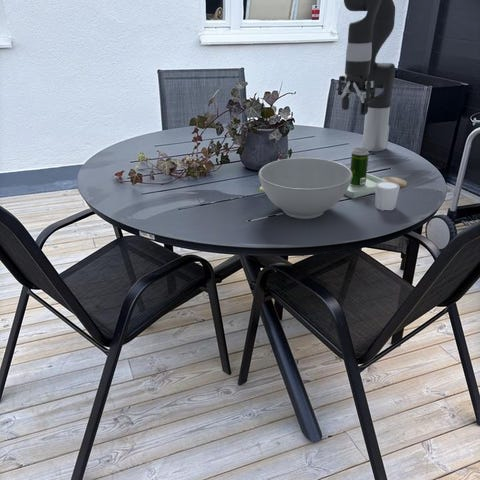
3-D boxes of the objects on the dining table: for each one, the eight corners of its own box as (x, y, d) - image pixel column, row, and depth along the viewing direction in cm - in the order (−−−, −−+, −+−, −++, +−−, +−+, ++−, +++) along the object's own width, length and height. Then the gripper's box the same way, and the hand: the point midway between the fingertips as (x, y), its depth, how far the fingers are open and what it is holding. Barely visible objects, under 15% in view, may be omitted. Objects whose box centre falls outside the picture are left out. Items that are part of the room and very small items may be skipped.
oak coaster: (392, 176, 161) (392, 175, 160) (412, 184, 154) (412, 183, 153) (373, 181, 157) (373, 180, 157) (392, 190, 150) (392, 188, 150)
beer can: (368, 184, 153) (372, 149, 148) (358, 188, 150) (362, 153, 145) (355, 180, 157) (358, 146, 151) (345, 184, 154) (348, 149, 148)
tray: (361, 176, 162) (361, 170, 161) (390, 188, 151) (391, 182, 150) (324, 185, 156) (325, 179, 155) (352, 198, 145) (353, 192, 144)
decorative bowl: (248, 199, 147) (247, 163, 141) (325, 188, 153) (327, 153, 147) (277, 236, 124) (277, 194, 118) (366, 222, 130) (370, 181, 124)
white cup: (384, 213, 135) (387, 191, 131) (368, 205, 140) (370, 183, 137) (401, 208, 137) (405, 186, 134) (385, 200, 143) (388, 179, 139)
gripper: (384, 59, 136) (378, 114, 144) (351, 54, 147) (348, 106, 155) (365, 62, 133) (360, 118, 141) (333, 57, 144) (330, 109, 152)
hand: (354, 111), depth 148 cm, fingers open, 8 cm apart
